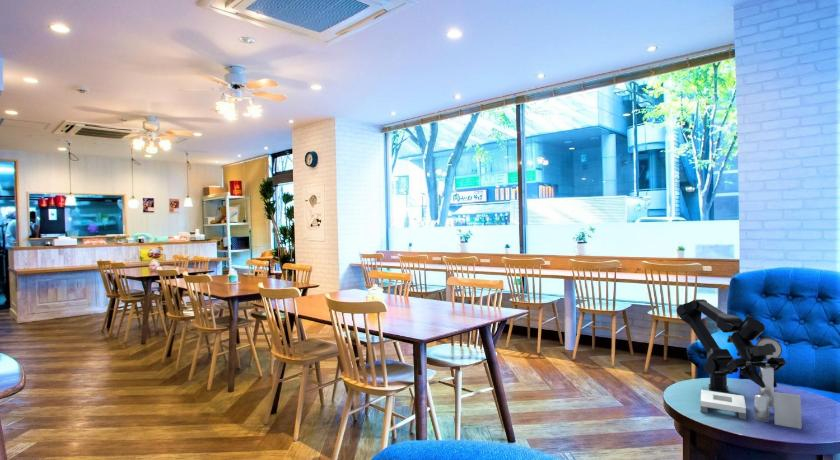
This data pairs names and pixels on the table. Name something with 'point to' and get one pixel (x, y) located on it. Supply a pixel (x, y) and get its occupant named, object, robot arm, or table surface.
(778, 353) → the magnifying glass
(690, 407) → the table surface
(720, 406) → the hole board
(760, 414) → the short pin
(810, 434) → the table surface
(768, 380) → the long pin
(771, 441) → the table surface
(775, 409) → the ivan chai tea box
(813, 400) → the table surface
